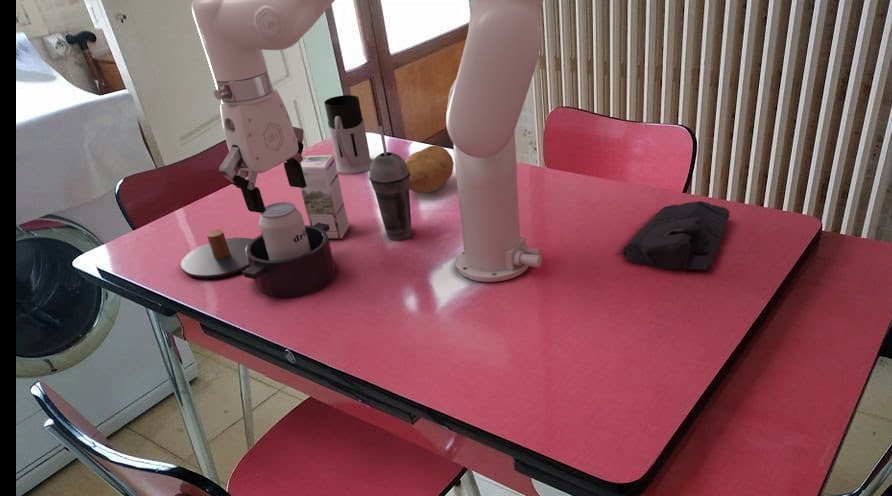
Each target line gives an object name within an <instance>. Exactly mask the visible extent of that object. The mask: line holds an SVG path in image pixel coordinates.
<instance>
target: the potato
mask: <svg viewBox="0 0 892 496" xmlns="http://www.w3.org/2000/svg"><path fill="white" fill-rule="evenodd" d="M404 161H405V163H406V164H407V167H408V170H409V172H410V176H409V177H410V182H409V191H412V192H414V193H416V194H418V195H425V194H428V193H431V192H434V191H436V190H438V189H440V188H441V187H443V186H444V185H445V184H446V183H447V182H448V180H449V179H450V178H451V177H452V175H453V172H454V167H455V162H454V160H453V157H452V155H451V154H450V152H449V151H448V150H447V149H446V148H444V147H442V146H440V145H430V146H427V147H425V148H422V149H421V150H419V151H416V152H413V153H412V154H410V155H409V156H408V157H407V158H406V159H405V160H404Z"/></svg>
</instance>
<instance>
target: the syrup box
mask: <svg viewBox="0 0 892 496" xmlns="http://www.w3.org/2000/svg"><path fill="white" fill-rule="evenodd" d="M302 158H303V160H302V162H301V163H300V164H301V167H302V170H303V174H304V178H305V181H306V185H307V186H306V187H305V188H300V192H301V197H302V201H303V204H304V208H305V211H306V212H305V213H306V216H307V220H308V223H309V224H308V225H309V226H314V225H315V224H317V223H323V224H329V228H330V230H328V231H327V232H326V234H327V235H328V239H329V240H341V239H343V237H344V236H345V235H346V233H347V231H348V229H349V227H350V223H349V219H348V215H347V212H346V207H345V202H344V198H343V193H342V192H343V191H342V187H341V183H340V178H339V172H337V167H336V159H335V154H324V155H304V156H302Z"/></svg>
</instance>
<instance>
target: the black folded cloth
mask: <svg viewBox="0 0 892 496" xmlns="http://www.w3.org/2000/svg"><path fill="white" fill-rule="evenodd" d="M729 218H730V210H729V208H727V207H723V206H719V205H716V204H711V203H710V202H705V201H702V200H701V201H690V202H685V203H681V204H670V205H665V206H664V207H662V208H661V209H659V211H658V212H657V213H656V214H655V215H654V217H653V218H651V219H650V220H649V221H648V223H646V224H645V225H643V227H642V228H640V229H639V231H638V232H637V233H635V235H634V236H633V237H632V238H631V239H630V241H629V242H628V243H627V244H626V245H625V246H624V247H623V248H622V251H621V253H622V254H623V255H625V256H626V260H627V262H629V263H633V264H637V265H646V266H650V267H653V268H658V269H662V270H665V271H666V270H667V271H675V272H677V271H678V272H679V271H688V272H692V271H697V270H700V271H708V270H710V269H711V267H712V266H713V263H714V261H715V260H716V256H717V255H718V251H719V249H720V245H721V242H722V241H723V237H724V235H725V230H726V226H727V221H728V220H729Z"/></svg>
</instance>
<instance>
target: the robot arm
mask: <svg viewBox="0 0 892 496" xmlns="http://www.w3.org/2000/svg"><path fill="white" fill-rule="evenodd" d="M335 1H336V0H192V2H191V11H192V16H193V19H194V21H195V25H196V28H197V31H198V34H199V36H200V40H201V43H202V46H203V49H204V50H203V51H204V52H205V55H206V58H207V62H208V65H209V68H210V71H211V74H212V77H213V80H214V83H215V87H216V89H215V90H214V91H213V96H214V98H215V99H217V100H218V101H220V102H221V104H219V109H220V116H221V124H222V128H223V133H224V137H225V141H226V145H227V148H228V153H227V155H226V156H225V158H224V160H223V162H221V164H220V165H219V168H218V170H219V173H221V175H222V176H223V177H224V178H225V179H227V181H228V183H230V184H231V185H233V186H235V187H236V188H237V189H240V191H241V193H242V196H243V200H244V202H245V205H246V208H247V210H248V212H251V213H259V214H261V213H263V212H265V210H266V209H265V207H266V206H265V204H264V199H263V197H262V193H261V190H260V188H259V187H258V186H256V182H257V178H258V174H264V173H266V172H268V171H270V170H271V169H275V167H277V166H279V165H281V164H283V168H284V171H285V175H286V178H287V182H288V185H289V187H293V188H299V189H301V188H305V187H306V186H307V185H306V181H305V178H304V174H303V170H302V167H301V164H300V163H301V162H302V160H303V155H302V154H303V151H304V146H305V145H304V133H305V132H304V131H305V130H304V129H303V128H301V127H296V126H293V124H292V121H291V118H290V117H291V116H290V115H289V112H288V110H287V108H286V105H285V102H284V101H283V99H282V97H281V95H280V93H279V92H278V90H277V89H275V88H273V85H272V81H271V77H270V74H269V70H268V66H267V63H266V59H265V56H264V52H263V50H264V51H282V50H287V49H289V48H292V47H293V46H295V45H296V44H297V43H298V42H299V41H300V40H301V39H302V38H303V37H304V35H306V33H307V32H309V31H310V30H311V28H313V26H314V25H315V24H316V23H317V21H318V20H319V19H321V17H322V16H323V14H324V13H325V12H327V10H328V9H329V7H331V5H332V4H333V3H334V2H335ZM543 4H544V0H476V3H475V5H474V7H473V10H472V12H471V15H470V17H469V20H468V21H469V22H468V30H467V35H466V39H465V42H464V47H463V50H462V55H461V58H460V63H459V66H458V70H457V73H456V78H455V79H454V81H453V83H452V85H451V86H450V90H449V92H448V97H447V106H446V113H445V114H446V115H445V124H446V130H447V133H448V136H449V138H450V141H451V142H452V147H453V156H454V167H455V168H454V169H455V175H456V187H457V195H458V204H459V205H458V206H459V214H460V224H461V235H462V243H463V250H462V251H461V252H460V253H459V254H458V255H457V257H456V260H455V264H456V265H455V266H456V270H457V272H458V273H459V274H460V275H461V276H463V277H464V278H467V279H469V280H472V281H475V282H482V283H496V282H497V283H498V282H503V281H507V280H511V279H514V278H517V277H518V276H520V275H523V273H525V272H526V271H527V270H528V268H529V267H532V268H538V269H539V268H540V267H541V265H542V261H543V260H542V259H543V257H542V256H541V254H542V253H541V252H542V251H541V249H539V248H534V247H533V248H530V247H529V246H528V245H527V238H526V237H525V236H521V232H520V231H521V229H520V228H521V227H520V212H519V210H520V209H519V193H518V169H517V168H518V166H517V165H518V164H517V147H516V132H515V130H516V128H517V125H518V122H519V120H520V116H521V114H522V111H523V107H524V105H525V104H524V103H525V102H526V99H527V95H528V92H529V89H530V86H531V82H532V80H533V77H534V73H535V70H536V68H537V63H538V60H539V56H540V52H541V44H542V31H541V26H540V15H541V11H542V8H543ZM235 169H236V170H237V172H236V170H235ZM246 178H247V179H246Z"/></svg>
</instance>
